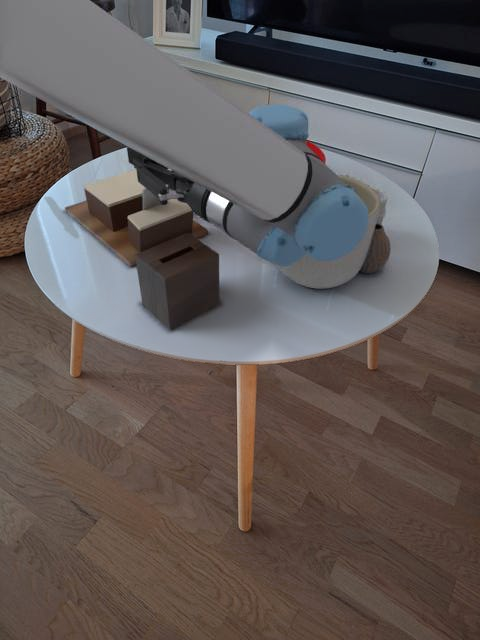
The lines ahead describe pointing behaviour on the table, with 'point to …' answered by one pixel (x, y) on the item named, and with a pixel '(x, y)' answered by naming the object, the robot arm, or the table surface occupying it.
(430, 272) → the table surface
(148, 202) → the knife
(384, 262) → the vase
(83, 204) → the cake board
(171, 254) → the knife block
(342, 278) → the planter
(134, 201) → the cake
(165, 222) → the cake slice
